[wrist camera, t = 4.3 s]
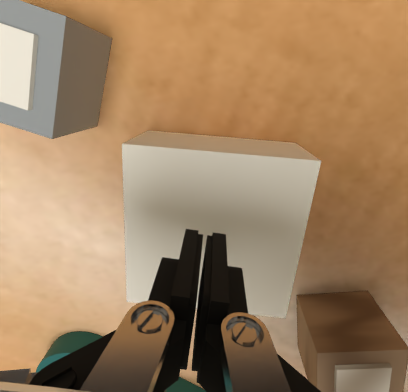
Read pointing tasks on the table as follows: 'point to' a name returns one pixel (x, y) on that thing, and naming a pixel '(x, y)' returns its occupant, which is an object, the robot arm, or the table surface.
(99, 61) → the slate block
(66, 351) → the bracket
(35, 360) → the table surface
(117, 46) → the table surface
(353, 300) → the walnut block
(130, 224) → the plain block
